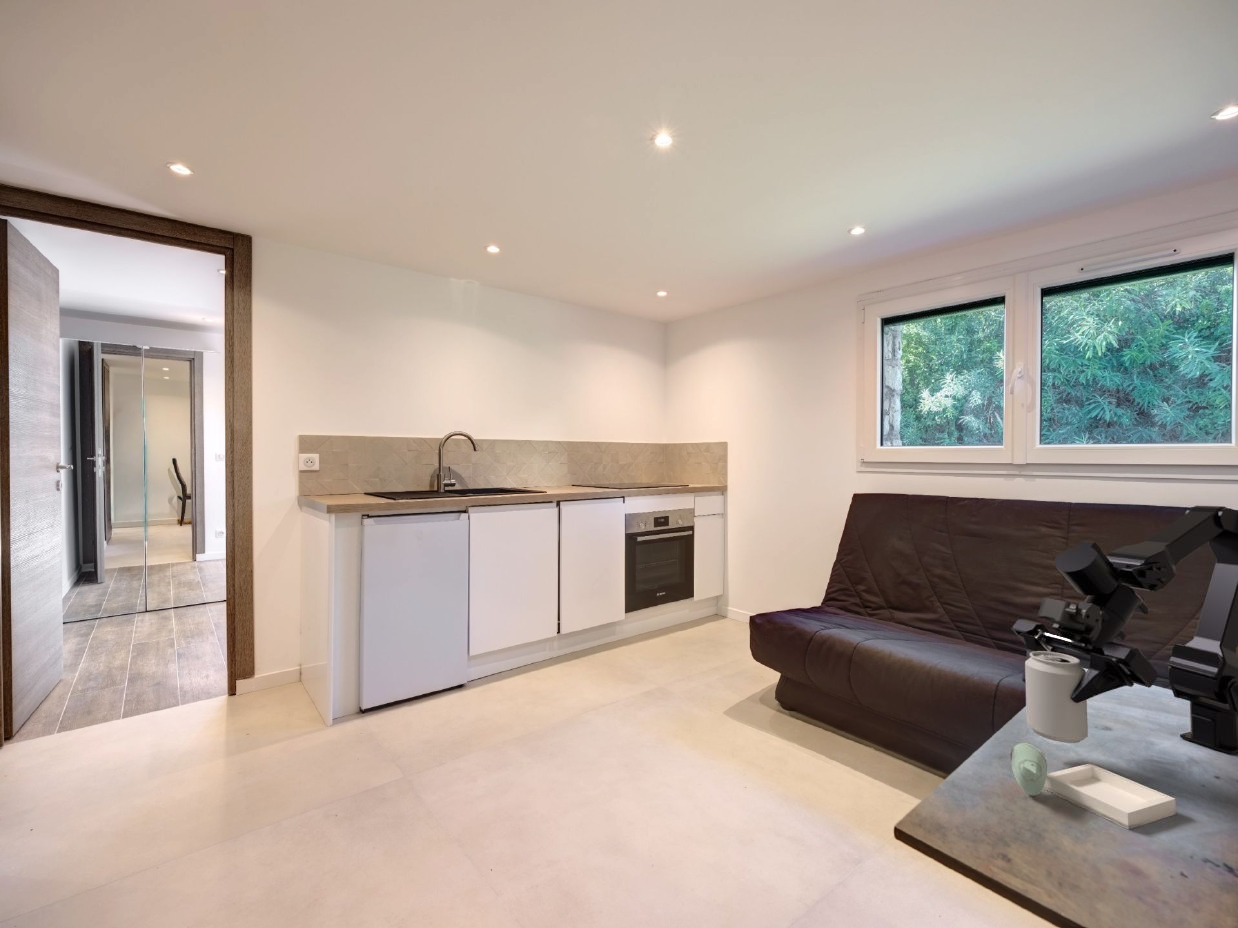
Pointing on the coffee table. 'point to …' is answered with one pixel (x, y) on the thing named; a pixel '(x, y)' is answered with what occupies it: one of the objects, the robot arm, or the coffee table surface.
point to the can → (1055, 697)
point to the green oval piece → (1029, 767)
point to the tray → (1110, 795)
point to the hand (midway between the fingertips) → (1048, 691)
